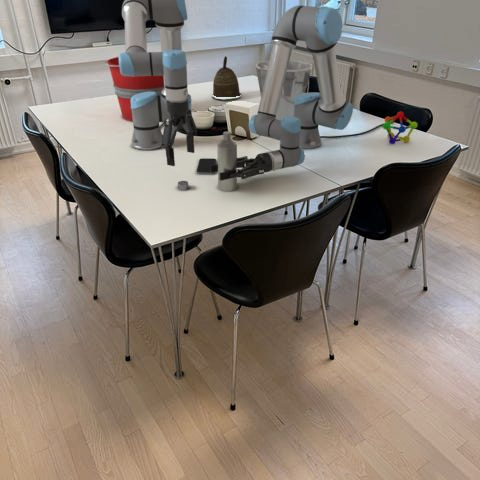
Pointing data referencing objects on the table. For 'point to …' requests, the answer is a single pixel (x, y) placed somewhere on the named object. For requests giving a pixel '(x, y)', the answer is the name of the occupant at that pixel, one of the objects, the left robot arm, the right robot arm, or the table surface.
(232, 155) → the bottle
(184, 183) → the cap
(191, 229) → the table surface
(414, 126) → the educational toy
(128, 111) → the bucket
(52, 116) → the table surface
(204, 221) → the table surface
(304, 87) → the bucket
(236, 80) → the bell
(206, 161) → the smartphone
